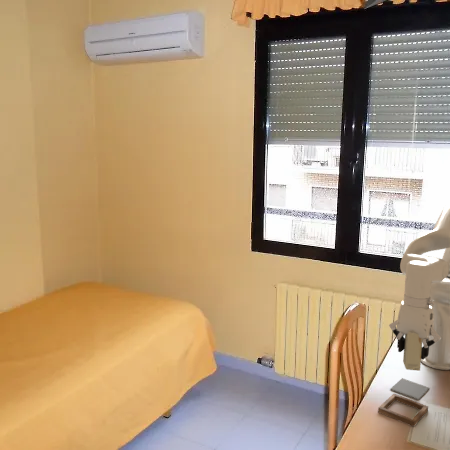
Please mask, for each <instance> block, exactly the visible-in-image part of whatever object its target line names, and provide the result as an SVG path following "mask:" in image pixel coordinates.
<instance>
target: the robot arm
mask: <svg viewBox="0 0 450 450" xmlns="http://www.w3.org/2000/svg"><path fill="white" fill-rule="evenodd" d="M444 249H445V251H444V253H443V256H442V258H440V257H434V256H433V257H432V256H427V255H423V254H425V253H429V252H432V251H434V252H435V251H439V250H444ZM399 266H400V267H399V269H400V271H401V273H402V274H403V275H405V280H404V290H403V291H404V292H403V294H404V295H403V300H402V301H401V303H400V307H399V311H398V315H397V319H396V320H395V321H393V322H391V323H389V325H388V326H389V328H390V329H391V330H392V333H393V334H394V336H395V337H396V340H397V346H396V348H397V349H398V350H397V352H399V353H401V352H404V343H405V334H408V332H413V333H416V334H418V335H419V338H421V339H423V340H422V352H421V362H422V363H423V364H424V365H426V366H427V367H429V368H431V369H432V368H433V369H436V370H441V371H449V370H450V203H448V204H446V205H445V206H444V207H443V209H442V211H441V212H440V215H439V217H438V218H437V221H436V223H435V225H434V226H433V228H432V230H431V231H429V232H426V233H425V234H422V235H420V236H419V237H417V238H415V239H414V240H412V241H411V242H410V243H409V244H408V246H407V248H406V250H405V251H404V253H403V255H402V257H401V260H400V264H399ZM422 363H421V364H422Z"/></svg>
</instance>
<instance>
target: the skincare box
mask: <svg viewBox="0 0 450 450" xmlns="http://www.w3.org/2000/svg"><path fill="white" fill-rule="evenodd" d="M404 338H405V343H404V350H403V358H402V359H403V360H402V362H403V365H404V368H405V370H408V371H419V372H420V371H421V364H422V363H421V352H422V347H423V343H422V340H423V339H421V338H419V335H418V334H416V333H413V332H408V334H405V335H404Z"/></svg>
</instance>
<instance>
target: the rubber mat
mask: <svg viewBox="0 0 450 450" xmlns="http://www.w3.org/2000/svg"><path fill="white" fill-rule="evenodd" d="M389 390H390V391H392V392H395V393H397V394H400V395H401V396H402V395H403V396H404V397H405V396H406V397H409V398H411V399H413V400H415V401H419V400H420V399H421V398H423V396H425V395H426V393H427V392H428V391H430V387H429V386H425V385H422V384H420V383H418V382H414V381H411V380H409V379H406V378H403V377H401V379H399V380H398V381H397V382H396V383H395V384H394V385H393V386H392V387H390V389H389Z"/></svg>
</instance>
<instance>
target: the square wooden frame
mask: <svg viewBox="0 0 450 450" xmlns="http://www.w3.org/2000/svg"><path fill="white" fill-rule="evenodd" d="M395 401H396V402H399V403H402V404H404V405H406V406H409V407H412V408H414V409H417V410H419V411H418V412H416V414H415V415H414V416H413V417H412V418H410V417H408V416H405V415H403V414H402V413H401V414H400V413H398V412H395V411H393V410H391V409H388V408H389V407H390V406H391V405H392V404H394V402H395ZM377 409H378V410H377V412H378V413H379V414H382V415H384V416H387V417H389V418H391V419H394V420H396V421H398V422H401V423H403V424H405V425H409V426H411V427H413V428H414V427H415V426H416V425H417V424H418V423H419V421H421V419H422V418H423V417H424V416H425V415H426V414H427V412H429V406H428V405H426V404H423V403H420V402H418V401H416V400H415V401H414V399H413V400H412V399H409V398H407V397H405V396H402V395H399V394H398V393H397V394H396V393H392V394H391V395H390V396H389V397H388V398H387V399H386V400H385V401H384V402H383V403H382V404H381V405H379V406H378V407H377Z"/></svg>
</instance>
